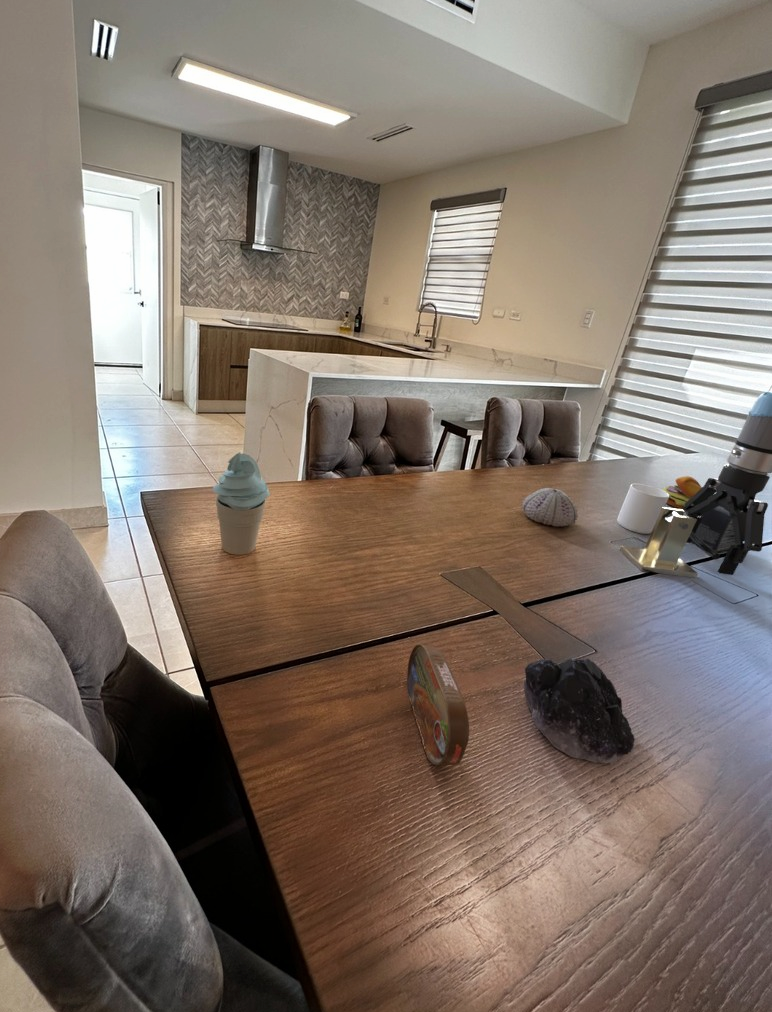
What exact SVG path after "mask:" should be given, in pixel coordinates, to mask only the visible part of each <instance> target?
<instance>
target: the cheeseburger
mask: <svg viewBox="0 0 772 1012" xmlns="http://www.w3.org/2000/svg"><path fill="white" fill-rule="evenodd" d="M675 483H676V485H669V486H665V487H664V488H663V489H661V490H663V491H665V492H667V493H668V494H669V498H668V501H667V503H666V504H668V505H670V506H672V507H674V508H675V509H681V510H684V509H683V505H684V504H685V503H686V502H687V501H688V500H689V499H690V498H692V497H693V496H694V495H695V494H696V493H697V492H698V491H699V490H700V489H701V488H702V487H703V486H702V485H700V483H699V482H698V480H696V479H695V478H694V477H692V476H688V475H686V476H680V477H677V478H676V479H675Z"/></svg>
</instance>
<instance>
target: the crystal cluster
mask: <svg viewBox="0 0 772 1012" xmlns="http://www.w3.org/2000/svg"><path fill="white" fill-rule="evenodd" d="M524 673H525V679H524V682H523V693H524V696H525V699H524V700H525V705H526V707H527V708H528V709H529V708H530V709H529V710H531V711H530V713H531V715H532V716H531V719H532V720H533V722H534V726H535V727H536V728H537V729H538V730H539V731H540V732H541V733H542V735H543V736H544V737H545V738H547V740H548V742H549V743H550V744H551V745H552V746H553V747H554V748H555V749H557V750H559V751H560V752H562V753H564V754H566V755H567V756H569V757H570V758H572V759H581V760H586V761H589V762H591V763H594V764H596V763H601V764H610V763H613V764H615V763H616V762H617V761H620V760H621V759H622V758H623V757H624V756H625V755H628V754H629V753H631V752H632V750H633V749H634V747H635V744H634V743H635V735H634V734H633V732H632V728H631V727H630V722H629V720H628V719H627V717H626V716H625V715H624V713H623V701H622V697H620V696H619V695H618V691H617V689H616V688H615V686H614V684H613V682H612V681H611V680H610V679H609V678H607V675H606V674H605V673H604V671H603V670H602V669H601V667H600V666H598V665H597V664H596V663H595V662H594V661H592V660H590V659H589V658H581V659H577V658H573V657H571V658H569V659H566V660H564V661H562V662H560V663H558V662H555V661H553V660H552V659H550V658H541V659H539V660H535V661H533V662H532V661H531V662H530V663H529V664H528V665H526V666H525V667H524ZM616 760H617V761H616Z"/></svg>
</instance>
